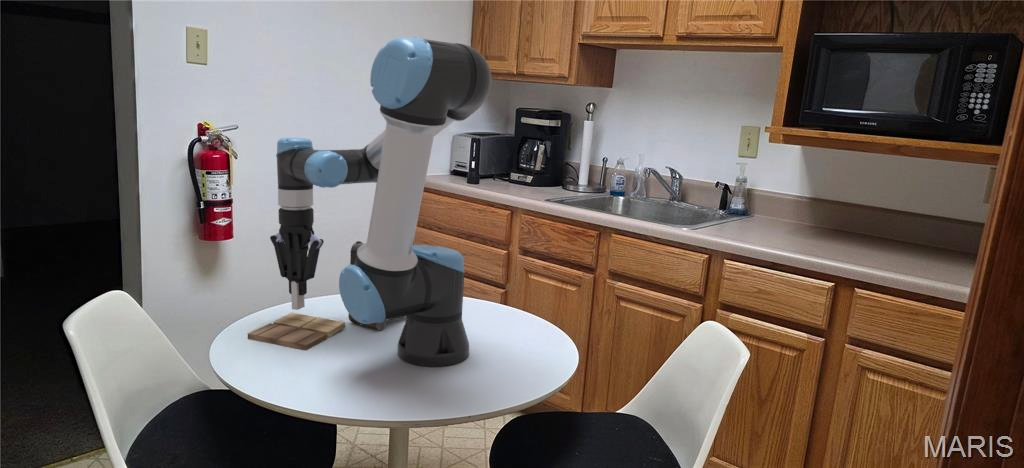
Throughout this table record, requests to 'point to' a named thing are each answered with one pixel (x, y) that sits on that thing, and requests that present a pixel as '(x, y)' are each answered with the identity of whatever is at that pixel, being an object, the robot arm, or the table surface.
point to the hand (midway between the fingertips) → (298, 307)
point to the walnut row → (287, 336)
